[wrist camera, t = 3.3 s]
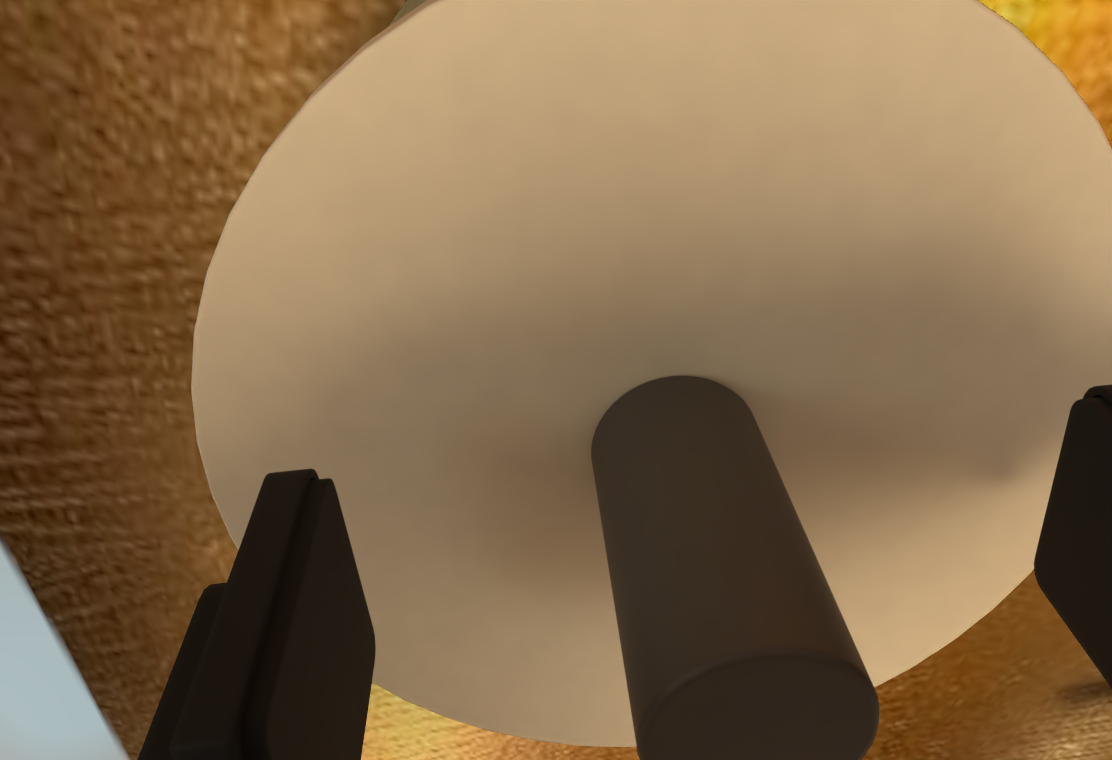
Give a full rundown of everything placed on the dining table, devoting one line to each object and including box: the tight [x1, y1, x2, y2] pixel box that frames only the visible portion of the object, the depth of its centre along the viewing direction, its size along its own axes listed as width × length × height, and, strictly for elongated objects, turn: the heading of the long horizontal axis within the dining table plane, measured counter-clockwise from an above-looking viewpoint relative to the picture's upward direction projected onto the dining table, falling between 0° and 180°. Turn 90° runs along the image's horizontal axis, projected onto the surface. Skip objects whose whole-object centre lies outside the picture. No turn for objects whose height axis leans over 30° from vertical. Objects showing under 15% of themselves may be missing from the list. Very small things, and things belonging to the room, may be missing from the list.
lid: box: [191, 0, 1112, 760], centre depth 12 cm, size 13×13×6 cm
